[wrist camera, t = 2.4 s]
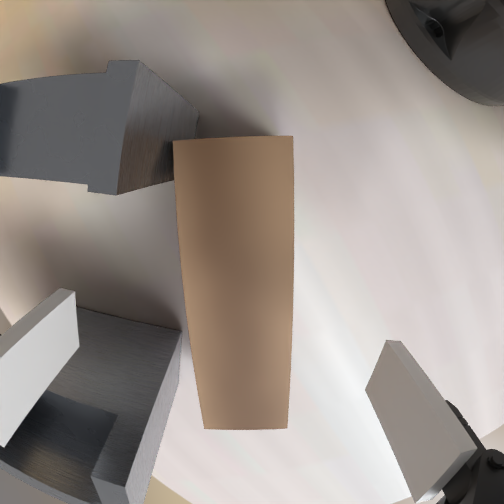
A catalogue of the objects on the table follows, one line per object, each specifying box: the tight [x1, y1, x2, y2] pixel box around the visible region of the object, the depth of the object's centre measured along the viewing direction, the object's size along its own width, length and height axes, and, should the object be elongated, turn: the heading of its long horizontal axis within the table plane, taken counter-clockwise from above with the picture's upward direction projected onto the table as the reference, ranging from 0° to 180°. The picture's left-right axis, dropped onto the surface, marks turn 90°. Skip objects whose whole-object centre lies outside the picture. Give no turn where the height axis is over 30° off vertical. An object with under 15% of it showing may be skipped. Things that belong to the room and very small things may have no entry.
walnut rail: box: [173, 136, 294, 430], centre depth 17 cm, size 5×16×6 cm, turn 2°
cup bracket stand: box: [0, 60, 199, 504], centre depth 14 cm, size 10×20×13 cm, turn 170°
